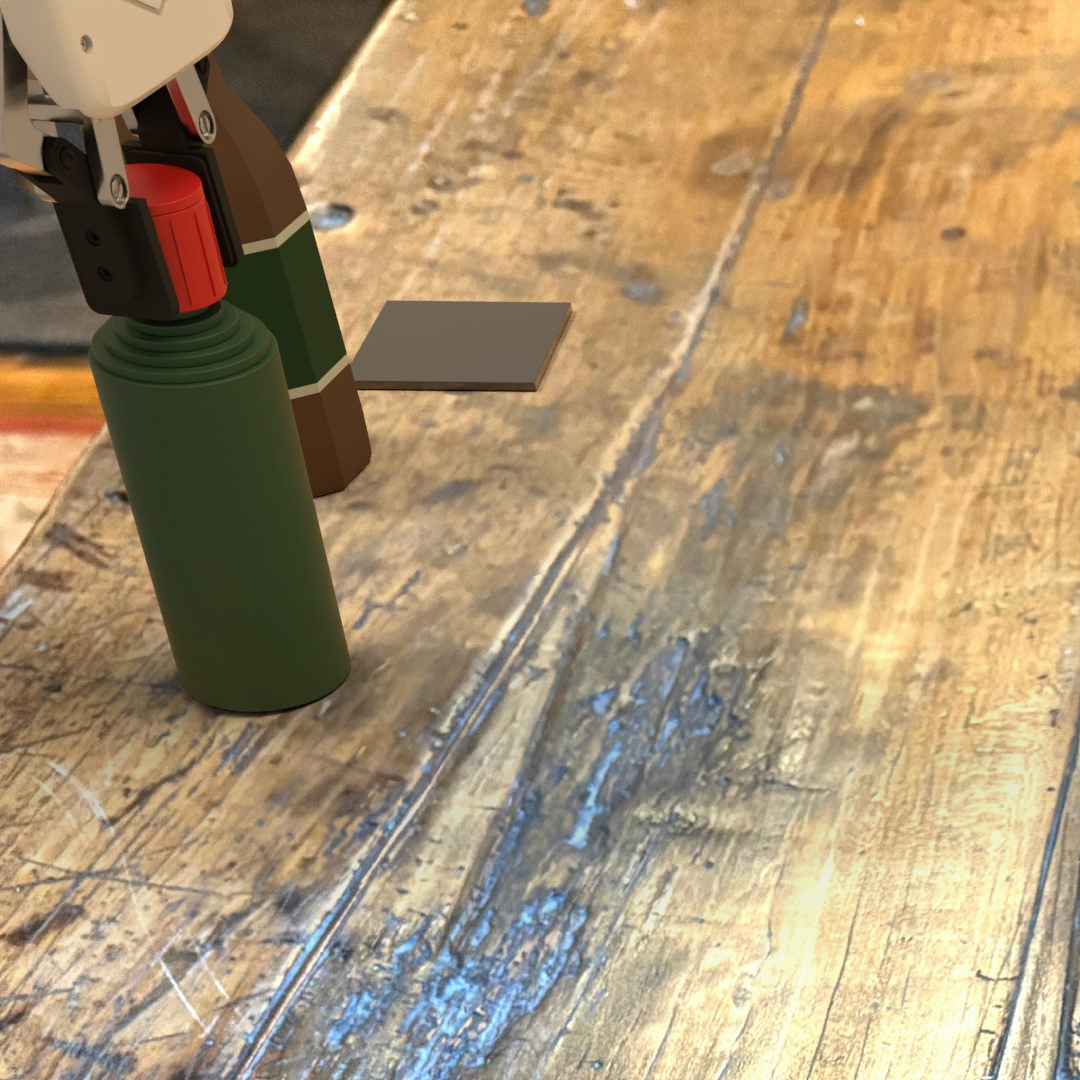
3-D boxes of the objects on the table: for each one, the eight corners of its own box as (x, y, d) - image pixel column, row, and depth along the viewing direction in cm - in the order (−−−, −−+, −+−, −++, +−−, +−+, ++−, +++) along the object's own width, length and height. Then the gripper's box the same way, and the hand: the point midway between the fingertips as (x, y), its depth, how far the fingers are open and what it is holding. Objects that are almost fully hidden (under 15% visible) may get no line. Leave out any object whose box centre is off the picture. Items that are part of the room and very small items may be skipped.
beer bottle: (291, 413, 117) (115, -180, 100) (413, 457, 114) (254, -144, 97) (155, 479, 112) (-55, -131, 95) (279, 526, 110) (86, -92, 92)
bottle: (159, 707, 99) (19, 235, 86) (206, 624, 103) (80, 164, 90) (328, 716, 99) (215, 249, 86) (368, 633, 104) (266, 177, 91)
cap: (134, 264, 92) (105, 158, 89) (243, 275, 92) (217, 169, 89) (92, 309, 89) (61, 200, 86) (204, 319, 89) (177, 211, 86)
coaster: (342, 389, 119) (340, 380, 118) (388, 308, 125) (386, 300, 125) (536, 391, 119) (534, 382, 119) (572, 310, 125) (571, 302, 125)
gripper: (-64, -237, 71) (150, 400, 84) (225, -372, 82) (373, 208, 96) (-310, -258, 72) (-59, 377, 85) (10, -389, 83) (187, 189, 96)
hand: (168, 282), depth 90 cm, fingers closed on cap, 3 cm apart
